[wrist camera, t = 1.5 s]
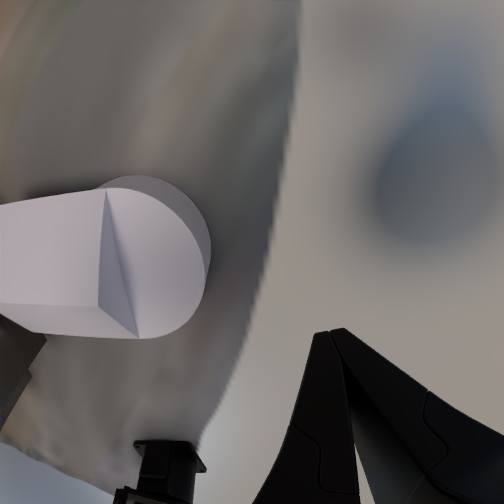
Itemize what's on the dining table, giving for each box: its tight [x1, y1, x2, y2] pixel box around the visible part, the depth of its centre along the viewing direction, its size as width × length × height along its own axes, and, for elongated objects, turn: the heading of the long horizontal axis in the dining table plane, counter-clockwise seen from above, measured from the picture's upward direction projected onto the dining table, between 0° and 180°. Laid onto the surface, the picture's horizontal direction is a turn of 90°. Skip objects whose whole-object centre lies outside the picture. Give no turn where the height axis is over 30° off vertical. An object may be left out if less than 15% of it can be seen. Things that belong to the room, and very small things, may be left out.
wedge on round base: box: [0, 175, 211, 339], centre depth 16 cm, size 9×7×13 cm
